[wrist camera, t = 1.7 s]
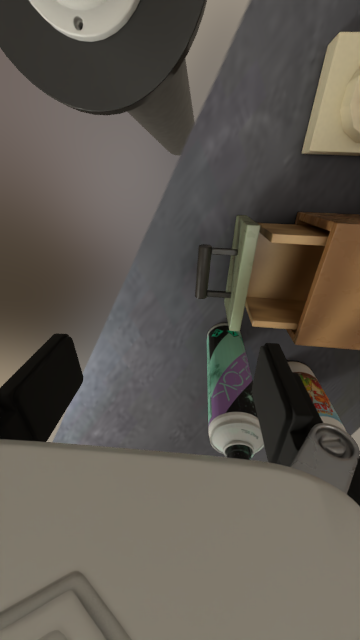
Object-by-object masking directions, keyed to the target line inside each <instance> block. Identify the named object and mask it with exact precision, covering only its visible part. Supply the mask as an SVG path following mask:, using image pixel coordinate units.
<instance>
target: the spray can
mask: <svg viewBox="0 0 360 640" xmlns="http://www.w3.org/2000/svg"><path fill="white" fill-rule="evenodd" d="M207 375H208V424H209V436H210V443H211V445H212V447H213V448H214V449H215V450H217V451H218V452H220V453H222V454H224V455H225V456H226V457H227V458H236V459H246V460H250V459H251V458H252V457H253V456H254V453H256V452H258V451H259V450H261V449H262V448H263V447H264V442H263V437H262V433H261V429H260V425H259V420H258V416H257V412H256V407H255V403H254V399H253V394H252V385H253V380H252V376H251V372H250V368H249V364H248V360H247V356H246V352H245V348H244V344H243V340H242V336H241V333H240V331H230V330H229V325H228V323H221V324H217V325H215V326H213V327H212V328H211V329H210V330H209V332H208V334H207Z"/></svg>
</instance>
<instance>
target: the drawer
mask: <svg viewBox="0 0 360 640" xmlns="http://www.w3.org/2000/svg"><path fill="white" fill-rule="evenodd" d="M329 233H330V231H328V230H325V229H323V228H320V227H317V226H310V225H291V224H271V223H256V222H255V221H253V220H252V219H251V218H249V217H248V216H245V215H237V217H236V224H235V231H234V238H233V245H232V249H228V248H212V246H211V245H205V244H203V245H199V250H198V264H197V277H196V290H195V297H196V298H198V299H205V298H206V297H222V298H225V299H224V303H225V309H226V314H227V320H228V325H229V330H230V331H240V328H241V322H242V317H243V312H244V307H245V306H246V309H247V312H248V315H249V318H250V321H251V324H252V326H255V327H268V328H281V329H294V330H297V327H298V324H299V321H300V318H301V315H302V312H303V309H304V306H305V304H306V301H307V298H308V295H309V292H310V289H311V286H312V283H313V280H314V277H315V274H316V271H317V268H318V266H319V263H320V260H321V257H322V254H323V251H324V248H325V245H326V242H327V239H328V236H329ZM211 254H216V255H231V258H230V265H229V272H228V279H227V286H226V291H211V290H207V289H208V279H209V270H210V260H211Z"/></svg>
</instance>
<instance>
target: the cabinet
mask: <svg viewBox="0 0 360 640" xmlns="http://www.w3.org/2000/svg"><path fill="white" fill-rule="evenodd" d="M294 225H310V226H317V227H320V228H323V229H325V230H328V231H330V233H329V236H328V239H327V242H326V245H325V248H324V251H323V254H322V257H321V260H320V263H319V266H318V268H317V271H316V274H315V277H314V280H313V283H312V286H311V289H310V292H309V295H308V298H307V301H306V304H305V306H304V309H303V312H302V315H301V318H300V321H299V324H298V327H297V330H294V329H286V330H287V332H288V333H289V335H290V337H291V339H292V340H293V342H294V344H295V345H305V346H318V347H330V348H343V349H356V350H360V215H357V214H336V213H315V212H298V213H297V217H296V221H295V224H294Z"/></svg>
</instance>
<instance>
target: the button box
mask: <svg viewBox="0 0 360 640" xmlns="http://www.w3.org/2000/svg"><path fill="white" fill-rule="evenodd" d="M302 154H324V155H354V156H360V32H339V34H338V35H337V36H336V37H335V38H334V39H333V40H332V41H331V43H330V44H329V45H328V47H327V51H326V55H325V59H324V63H323V67H322V71H321V76H320V80H319V84H318V88H317V92H316V96H315V100H314V104H313V108H312V112H311V117H310V121H309V125H308V129H307V133H306V137H305V141H304V145H303V149H302Z"/></svg>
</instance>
